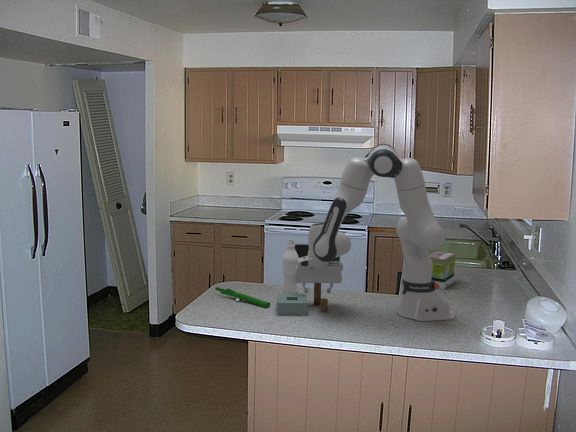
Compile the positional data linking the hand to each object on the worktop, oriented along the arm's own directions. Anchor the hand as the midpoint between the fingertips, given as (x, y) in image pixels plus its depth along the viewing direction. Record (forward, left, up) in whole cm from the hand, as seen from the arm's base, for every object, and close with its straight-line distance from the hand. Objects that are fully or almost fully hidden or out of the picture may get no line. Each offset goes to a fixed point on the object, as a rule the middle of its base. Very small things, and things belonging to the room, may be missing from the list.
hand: (317, 292), depth 255 cm
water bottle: (+11, -12, -5) cm, 17 cm away
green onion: (+33, -5, -6) cm, 33 cm away
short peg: (-2, +9, -5) cm, 11 cm away
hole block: (+11, +8, -5) cm, 15 cm away
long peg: (0, 0, -5) cm, 5 cm away
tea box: (-61, -32, -5) cm, 69 cm away
